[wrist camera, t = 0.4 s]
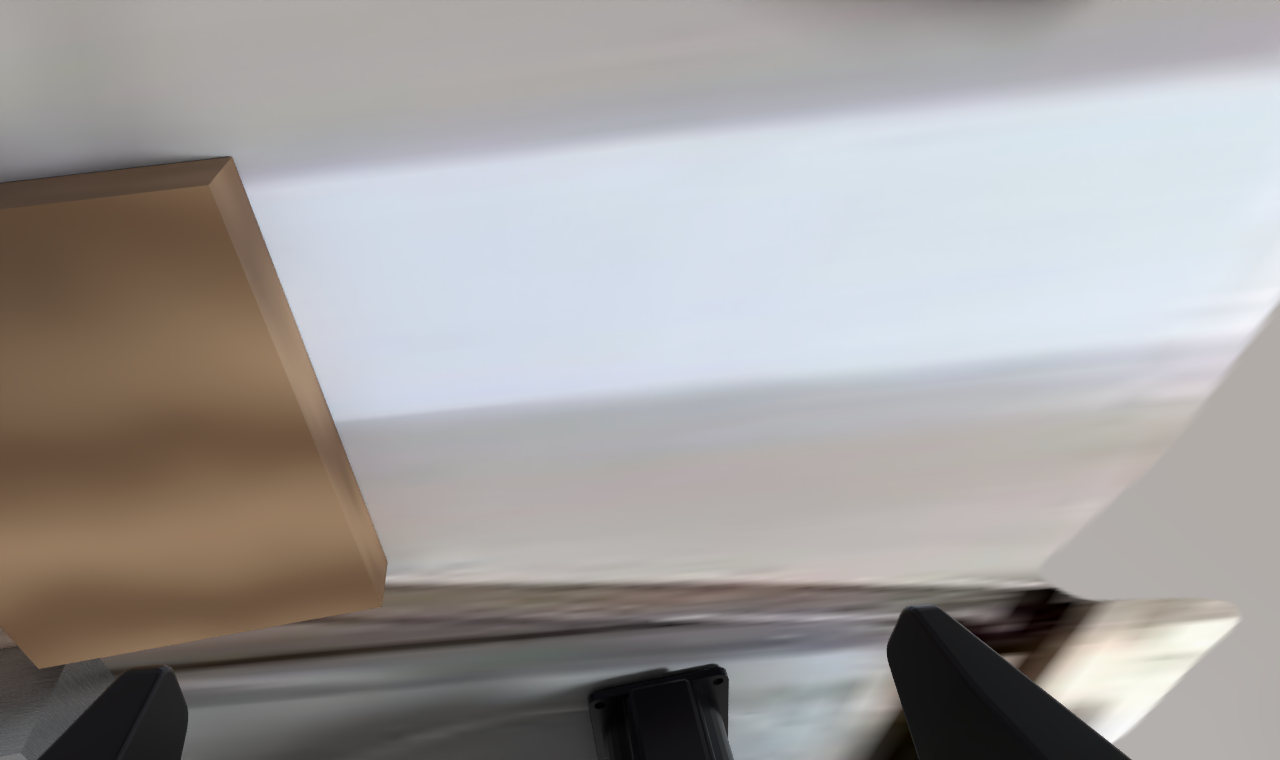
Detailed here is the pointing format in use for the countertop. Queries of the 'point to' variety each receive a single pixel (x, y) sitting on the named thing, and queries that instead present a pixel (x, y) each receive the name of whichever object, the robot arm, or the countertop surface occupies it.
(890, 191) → the countertop surface
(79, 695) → the block
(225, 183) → the stand
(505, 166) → the countertop surface
